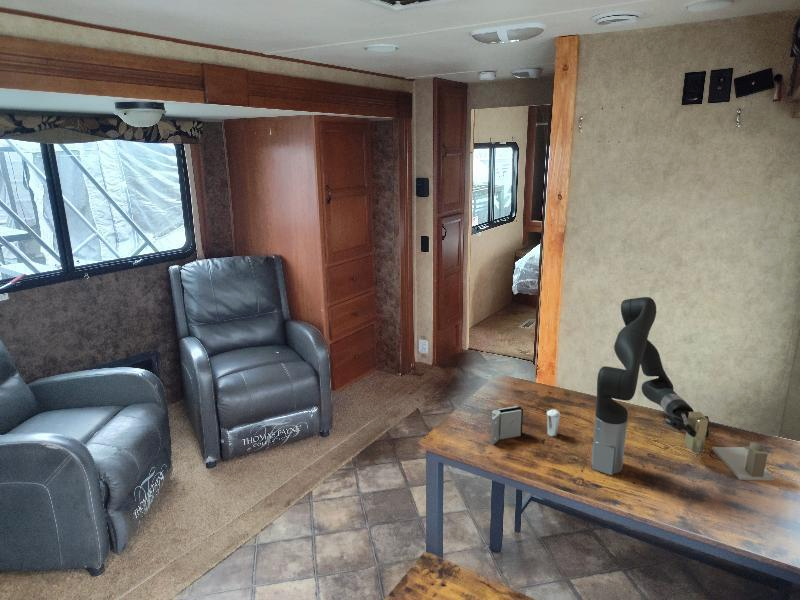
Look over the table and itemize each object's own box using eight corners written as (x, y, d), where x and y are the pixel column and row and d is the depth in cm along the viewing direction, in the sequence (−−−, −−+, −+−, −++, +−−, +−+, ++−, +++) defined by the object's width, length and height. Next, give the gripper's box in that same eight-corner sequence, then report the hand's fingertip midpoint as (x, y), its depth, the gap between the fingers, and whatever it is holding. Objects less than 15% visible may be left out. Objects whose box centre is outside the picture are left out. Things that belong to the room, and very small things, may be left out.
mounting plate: (712, 449, 176) (716, 422, 173) (743, 450, 176) (748, 422, 173) (739, 479, 160) (744, 450, 158) (774, 480, 160) (780, 451, 157)
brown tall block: (684, 442, 172) (689, 411, 169) (695, 442, 172) (700, 411, 169) (694, 453, 166) (698, 421, 163) (705, 453, 166) (710, 422, 163)
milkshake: (546, 428, 192) (548, 403, 189) (560, 433, 188) (562, 408, 186) (541, 434, 188) (542, 408, 186) (555, 438, 185) (557, 413, 182)
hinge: (492, 445, 182) (492, 419, 179) (482, 438, 187) (483, 412, 184) (523, 435, 188) (524, 409, 185) (514, 428, 193) (514, 403, 190)
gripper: (656, 398, 181) (678, 423, 165) (699, 398, 181) (726, 424, 164) (654, 418, 184) (675, 444, 167) (696, 418, 183) (722, 445, 166)
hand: (700, 434), depth 166 cm, fingers closed on brown tall block, 3 cm apart
